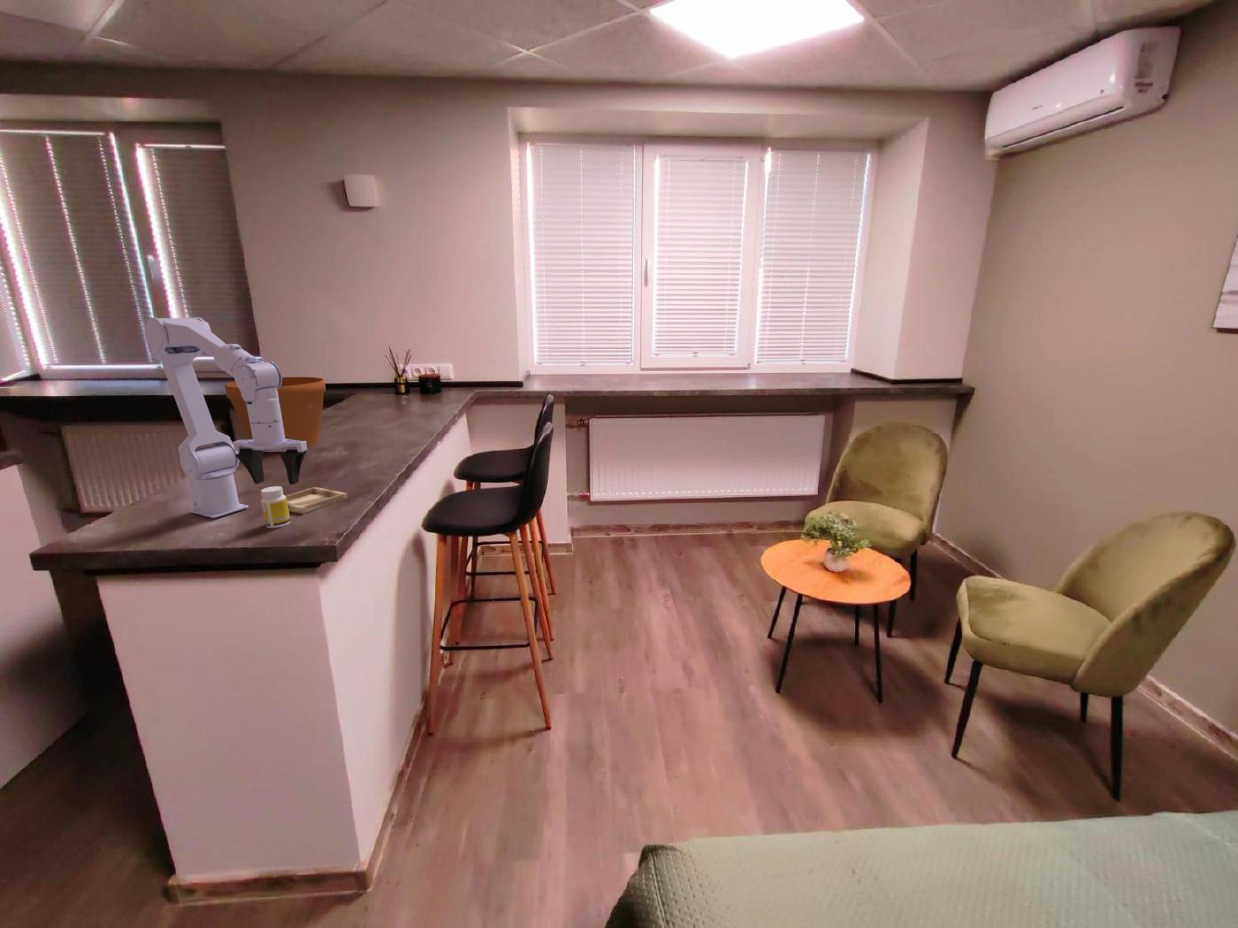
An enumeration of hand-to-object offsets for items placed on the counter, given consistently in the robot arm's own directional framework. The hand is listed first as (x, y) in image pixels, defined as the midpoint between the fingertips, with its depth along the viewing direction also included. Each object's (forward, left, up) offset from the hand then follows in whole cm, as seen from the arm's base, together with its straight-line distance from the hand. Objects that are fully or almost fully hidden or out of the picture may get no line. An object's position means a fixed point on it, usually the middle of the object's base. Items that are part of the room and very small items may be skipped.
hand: (276, 482), depth 116 cm
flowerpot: (-64, +44, -11) cm, 78 cm away
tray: (-9, +12, -10) cm, 18 cm away
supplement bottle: (-3, 0, -11) cm, 11 cm away
